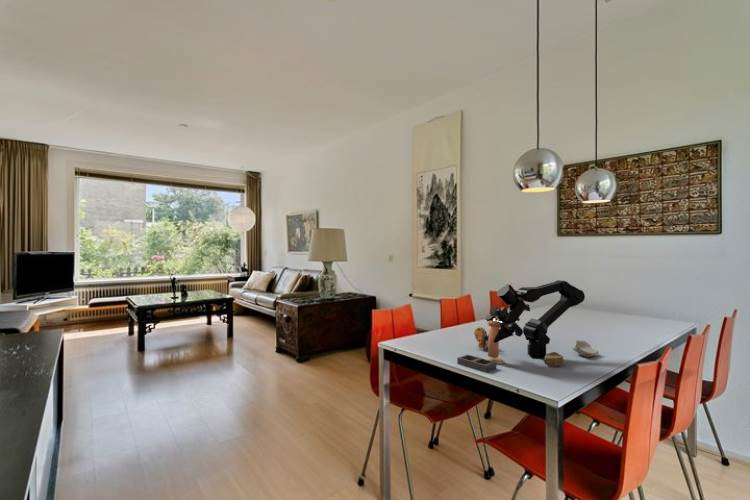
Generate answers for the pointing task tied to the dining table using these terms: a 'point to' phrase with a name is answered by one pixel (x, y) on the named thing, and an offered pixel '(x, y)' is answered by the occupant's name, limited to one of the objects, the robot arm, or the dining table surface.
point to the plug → (492, 334)
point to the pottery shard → (584, 349)
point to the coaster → (496, 360)
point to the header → (476, 363)
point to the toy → (481, 337)
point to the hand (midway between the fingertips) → (490, 340)
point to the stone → (553, 359)
